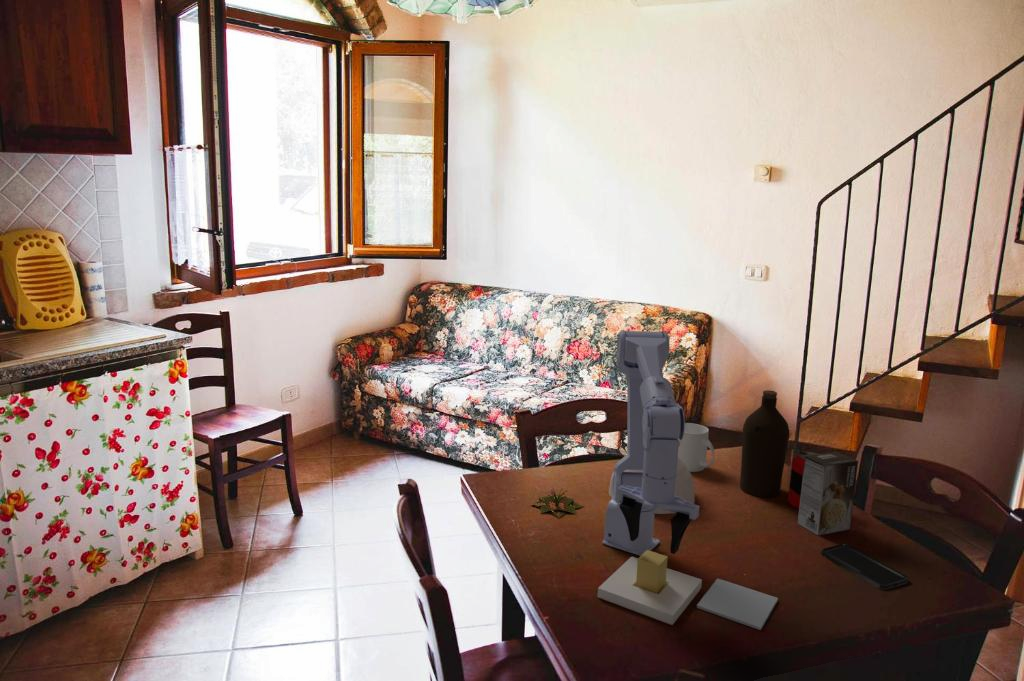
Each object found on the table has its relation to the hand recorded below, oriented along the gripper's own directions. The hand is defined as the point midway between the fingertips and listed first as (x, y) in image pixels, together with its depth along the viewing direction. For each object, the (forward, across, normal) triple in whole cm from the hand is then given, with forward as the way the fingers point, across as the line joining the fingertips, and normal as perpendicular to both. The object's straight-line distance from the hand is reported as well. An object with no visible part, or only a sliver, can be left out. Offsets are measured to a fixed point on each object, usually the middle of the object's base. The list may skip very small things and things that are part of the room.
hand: (653, 545), depth 127 cm
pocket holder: (+9, 0, 0) cm, 9 cm away
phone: (+10, +30, +34) cm, 46 cm away
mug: (+10, -15, +63) cm, 65 cm away
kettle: (+10, -17, +40) cm, 45 cm away
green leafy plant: (+10, -32, +21) cm, 40 cm away
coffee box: (+10, +20, +48) cm, 53 cm away
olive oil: (+10, +3, +60) cm, 61 cm away
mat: (+9, +14, +6) cm, 18 cm away
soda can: (+10, +14, +58) cm, 60 cm away
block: (+10, 0, 0) cm, 10 cm away
